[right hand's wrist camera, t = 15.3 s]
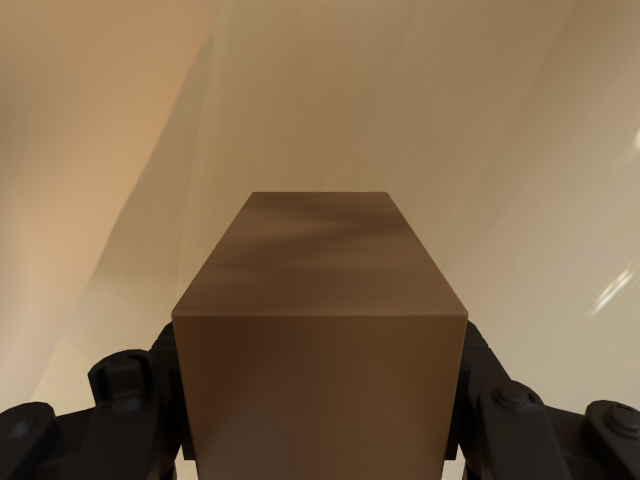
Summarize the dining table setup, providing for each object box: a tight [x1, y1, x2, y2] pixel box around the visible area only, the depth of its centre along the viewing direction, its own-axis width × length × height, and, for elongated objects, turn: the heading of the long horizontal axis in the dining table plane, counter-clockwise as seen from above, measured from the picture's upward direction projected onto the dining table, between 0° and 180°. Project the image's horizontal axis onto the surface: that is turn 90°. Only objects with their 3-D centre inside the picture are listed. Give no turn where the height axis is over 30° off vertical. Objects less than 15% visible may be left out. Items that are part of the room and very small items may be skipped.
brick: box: [171, 192, 468, 480], centre depth 11 cm, size 5×7×8 cm
